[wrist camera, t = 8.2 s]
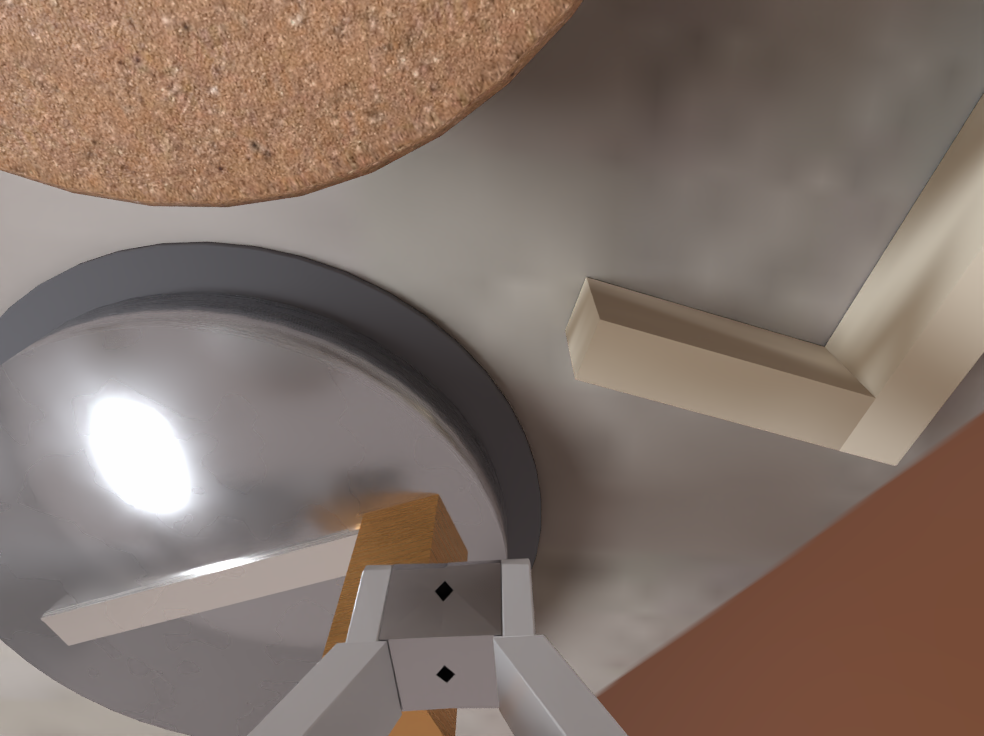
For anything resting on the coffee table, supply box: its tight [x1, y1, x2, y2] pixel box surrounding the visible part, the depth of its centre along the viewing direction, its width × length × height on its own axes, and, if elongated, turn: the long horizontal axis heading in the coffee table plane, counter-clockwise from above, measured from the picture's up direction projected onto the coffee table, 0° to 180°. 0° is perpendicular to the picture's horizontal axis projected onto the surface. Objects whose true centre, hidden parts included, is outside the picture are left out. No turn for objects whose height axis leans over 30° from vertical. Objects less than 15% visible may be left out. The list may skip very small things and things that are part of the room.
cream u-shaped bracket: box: [565, 94, 984, 466], centre depth 11 cm, size 17×8×2 cm, turn 163°
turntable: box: [0, 292, 507, 736], centre depth 15 cm, size 15×15×7 cm
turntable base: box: [0, 242, 541, 569], centre depth 19 cm, size 17×17×1 cm
